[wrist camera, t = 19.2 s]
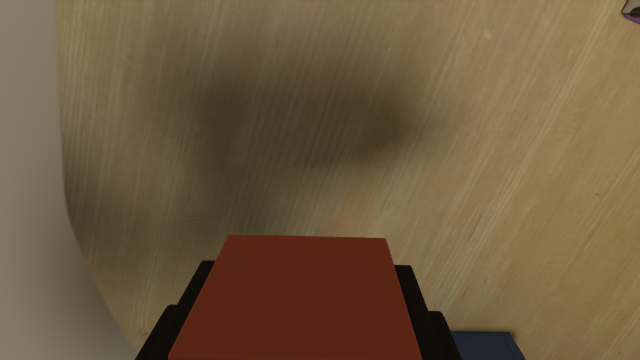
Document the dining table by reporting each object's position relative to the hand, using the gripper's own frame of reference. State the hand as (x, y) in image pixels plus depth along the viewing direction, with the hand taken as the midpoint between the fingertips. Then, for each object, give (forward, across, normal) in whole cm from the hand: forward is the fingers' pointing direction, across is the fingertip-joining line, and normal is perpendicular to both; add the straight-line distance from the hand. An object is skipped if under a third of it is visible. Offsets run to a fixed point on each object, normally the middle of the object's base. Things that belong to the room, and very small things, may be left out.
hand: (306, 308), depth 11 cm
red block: (0, 0, 0) cm, 0 cm away
